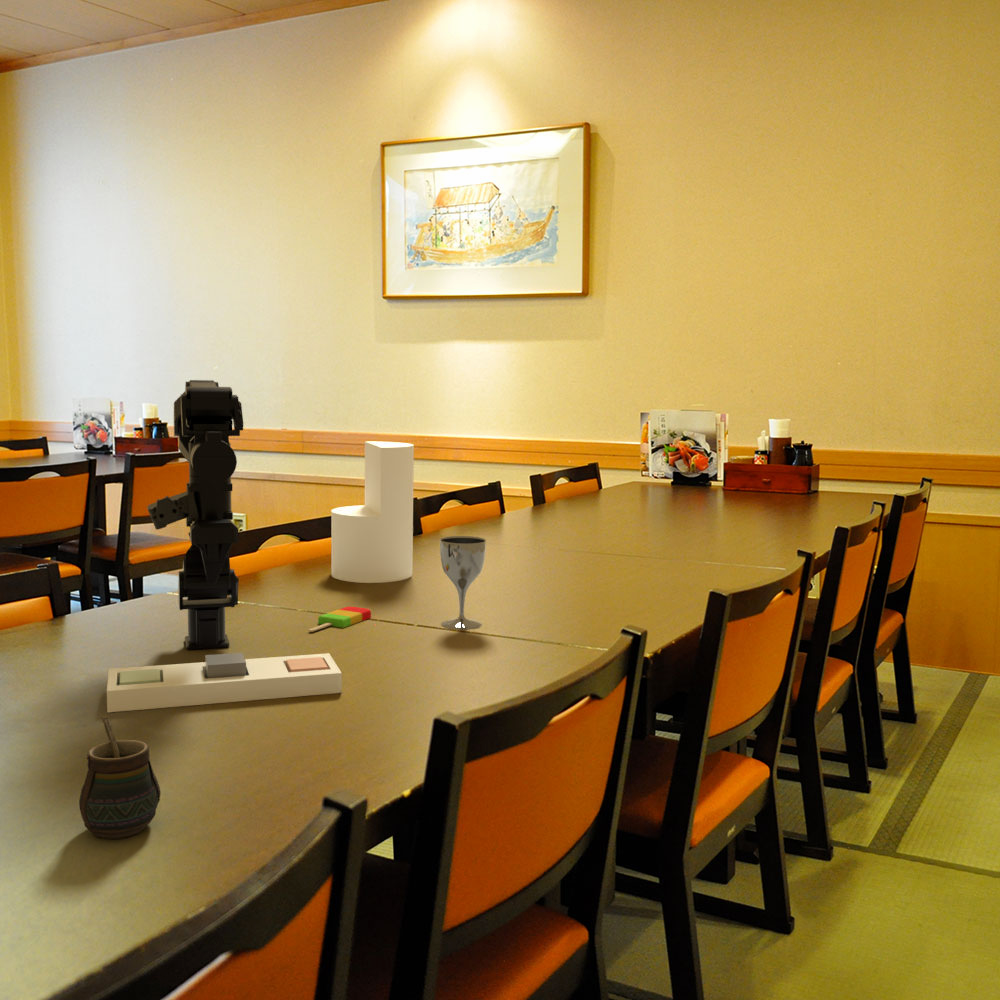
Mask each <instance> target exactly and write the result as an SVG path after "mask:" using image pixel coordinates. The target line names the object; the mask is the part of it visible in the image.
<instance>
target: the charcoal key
mask: <svg viewBox="0 0 1000 1000" xmlns="http://www.w3.org/2000/svg"><path fill="white" fill-rule="evenodd" d="M204 657H205V658H204V662H205V670H206V677H207V679H209V678H222V677H235V676H246V661H245V659H246V658H245V656H244V653H243V652H232V653H220V654H219V653H217V654H205V655H204Z"/></svg>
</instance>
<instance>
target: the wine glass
mask: <svg viewBox="0 0 1000 1000" xmlns="http://www.w3.org/2000/svg"><path fill="white" fill-rule="evenodd" d="M486 546H487V539H485V538H483V537H479V536H469V535H451V536H444V537H441V538H439V556H440V562H441V567H442V569H443V572H444V574H445V575H446V577H447V578H448V579H449V580H450V581H451V583H452V584H453V585H454V586H455V589H456V591H457V594H458V595H457V596H458V601H459V603H458V604H459V614H458V615H459V616H458V617H457V618H453V619H447V620H443V621H442V622H441V623H440V624H441V626H442V627H443V628H447V629H449V630H450V629H452V630H462V631H463V630H472V629H473V630H474V629H477V628H480V627H482V625H483V623H482V622H481V621H478V620H475V619H470V618H466V617H465V601H466V595H467V591H468V589H469V588H470V587H471V585H472V584H473V583H474V582H475V581H476V579H477V578H478V577H479V576H480V574H481V573H482V571H483V568H484V564H485V559H486V550H487V549H486V548H487V547H486Z"/></svg>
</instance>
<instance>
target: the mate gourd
mask: <svg viewBox="0 0 1000 1000" xmlns="http://www.w3.org/2000/svg"><path fill="white" fill-rule="evenodd" d="M100 719H101V721H102V723H103V726H104V729H105V730H104V731H105V732H106V736H107V739H108V741H107V742H103V743H100V744H97V745H96V746H93V747H91V748H90V749H89V750H88V752H87V755H86V756H87V757H86V760H87V769H88V770H87V773H86V776H85V780H84V783H83V786H82V788H81V791H80V797H79V801H78V804H79V806H78V807H79V812H80V817H81V818H82V821H83V824H84V827H85V828H86V829H87V830H88V831H89V832H90V834H92V835H93V836H95V837H96V838H98V837H99V838H104V839H109V840H111V839H113V840H114V839H116V840H117V839H123V838H128V837H132V836H135V835H137V834H139V833H141V832H142V831H143V830H144V829H145V828H146V827H147V826H148V825H149V824H150V823H151V822H153V819H154V817H155V816H156V813H157V808H158V805H159V803H160V801H161V794H162V793H161V788H160V785H159V781H158V779H157V776H156V774H155V772H154V769H153V767H152V764H151V761H150V747H149V745H148V744H147V743H145V742H143V741H142V740H141V741H140V740H135V739H120V740H119V739H118V740H116V738H115V735H114V733H113V728H112V726H111V725H110V721H109V717H105V718H100Z"/></svg>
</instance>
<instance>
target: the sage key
mask: <svg viewBox="0 0 1000 1000" xmlns="http://www.w3.org/2000/svg"><path fill="white" fill-rule="evenodd" d="M156 682H160V669H149V670H136V671H122V672H120V685H130V684H143V683H156Z"/></svg>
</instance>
